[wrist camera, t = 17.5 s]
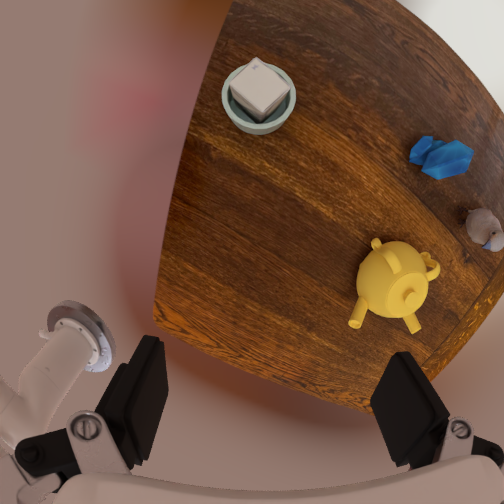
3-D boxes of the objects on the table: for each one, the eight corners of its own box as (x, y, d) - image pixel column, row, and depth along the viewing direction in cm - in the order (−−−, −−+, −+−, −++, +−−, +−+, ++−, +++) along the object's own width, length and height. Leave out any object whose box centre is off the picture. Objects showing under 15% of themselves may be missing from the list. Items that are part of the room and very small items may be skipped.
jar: (221, 126, 38) (213, 119, 30) (237, 74, 35) (233, 56, 27) (279, 141, 38) (285, 137, 31) (295, 88, 36) (303, 73, 28)
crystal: (411, 144, 31) (473, 122, 27) (395, 141, 39) (449, 122, 34) (427, 193, 33) (486, 169, 29) (410, 181, 41) (462, 161, 36)
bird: (434, 211, 41) (488, 234, 27) (480, 196, 39) (533, 214, 25) (436, 236, 42) (487, 266, 28) (482, 220, 41) (532, 242, 27)
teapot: (334, 301, 47) (352, 339, 36) (359, 227, 42) (388, 249, 32) (399, 311, 47) (425, 344, 37) (425, 246, 43) (460, 269, 32)
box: (234, 105, 36) (223, 81, 24) (255, 84, 35) (254, 54, 23) (260, 128, 37) (262, 114, 25) (281, 108, 36) (293, 86, 24)
